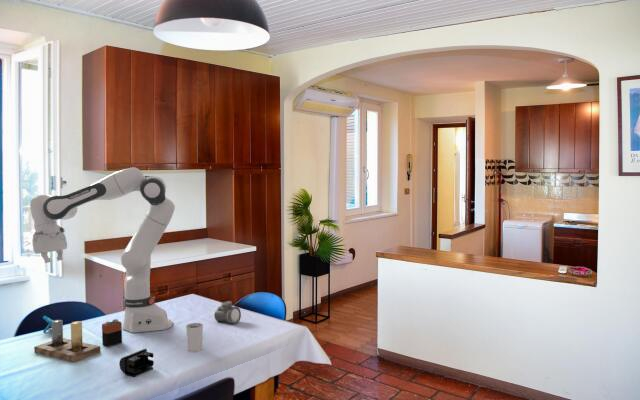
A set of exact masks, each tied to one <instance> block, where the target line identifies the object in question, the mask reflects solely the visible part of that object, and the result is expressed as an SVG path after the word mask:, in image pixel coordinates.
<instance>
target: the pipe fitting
mask: <svg viewBox="0 0 640 400" xmlns="http://www.w3.org/2000/svg"><path fill="white" fill-rule="evenodd" d="M241 318H242V312H241V309H240V308H239V306H233V302H232V301H231V300H227V301H224V302H222V303H221V304H220V306H218V307H217V309H216V310H215V311H214V320H215V321H216V322H228V323H229V324H232V325H236V324H238V323H239V322H240V321H241Z"/></svg>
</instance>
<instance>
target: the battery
mask: <svg viewBox="0 0 640 400" xmlns="http://www.w3.org/2000/svg"><path fill="white" fill-rule="evenodd" d="M122 323H123V322H121V321H119V319H118V318H117V319H116V318H115V319H113V320H112V321H106V322H105V323H102V324H101V336H102V341H101V342H102V346H105V347H107V348H109V347H112V346H116V345H119V344H122V343H123V329H122V327H123V324H122Z"/></svg>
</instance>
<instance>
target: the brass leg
mask: <svg viewBox="0 0 640 400" xmlns="http://www.w3.org/2000/svg"><path fill="white" fill-rule="evenodd" d="M70 338H71V339H70V340H71V346H72V352H78V351H81V350H83V343H84V342H83V322H82V321H80V320H77V321H72V322H71V323H70Z"/></svg>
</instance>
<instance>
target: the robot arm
mask: <svg viewBox="0 0 640 400" xmlns="http://www.w3.org/2000/svg"><path fill="white" fill-rule="evenodd" d="M133 192H140V194H141V197H142V198H143V199H144V200H145V201H147V202H148V203H149V204H150V207H149V209H148V210H147V212H146V214H145V215H144V218H143V219H142V221H141V223H140V224H139V226H138V228H137V229H136V232H135V233H134V234H133V236H132V238H131V239H130V240H129V242H128V244H127V245H126V247H125V249H124V250H123V252H122V254H121V257H120V262H121V265H122V267H123V268H124V269H125V277H124V298H123V308H124V309H123V310H124V319H123V322H122V323H123V324H122V331H123V330H124V331H127V332H130V333H132V334H133V333H144V332H154V331H155V332H156V331H163V330H164V331H165V330H168V329H169V328H171V327H172V325H173V324H174V322H173V320H172V319H169V318H168V314H167V311H166V310H165V309H164V308H162V307H161V306H159V305H158V304H156V301H155V298H156V297H155V296H152V295H151V290H150V289H151V285H150V284H151V282H150V279H151V277H150V276H151V262H152V261H151V260H152V259H151V257H152V253H153V252H154V250H155V248H156V246H157V245H158V243H159V242H160V240H161V238H162V237H163V235H164V232H165V231H166V229H167V228H168V226H169V224H170V222H171V220H172V217H173V215H174V212H175V209H176V208H175V207H176V206H175V203H174V202H173V200H171V199H169V198H168V197H167V196H166V192H167V185H166V183H165V181H164V180H163V179H162V178H160V177H158V176H150V175H144V174H143V172H142V171H141V170H140V169H139V168H137V167H134V166H132V167H129V168H124V169H121V170H119V171H115V172H113V173H111V174H109V175H107V176H106V177H104V178H102V179H100V180H98V181H96V182H94V183H92V184H90V185H88V186H86V187H84V188H81V189H78V190H76V191H73V192H71V193H68V194H66V195H50V194H47V193H42V194H39V195H36V196H34V197H33V198H31V200H30V203H29V204H30V205H29V206H30V207H29V208H30V212H31V213H30V214H31V218H32V220H33V222H34V223H33V224H34V225H33V226H34V227H33V228H34V231H35V232H34V233H33V234H32V240H31V241H32V249H33V252H34V254H37V255H38V254H40V256H41V257H42V258H43V260H44V263H45V264H47V263H51V258H50V257H49V255H48V253H51V252H56V254H57V256H56V260H57V261H63V259H64V258H63V253H64V252H63V251H64V250H67V248H68V241H67V237H66V235H65V232H66V230H65V228H64V227H61V226H60V225H59V224H58V223H57V221H59V220H69V219H72V218H74V217H75V216H76V214H77V212H78V207H80V206H82V205H85V204H87V203H90V202H93V201H100V200H101V201H103V200H105V201H106V200H107V201H112V200H115V199H119V198H122V197H123V196H126V195H129V194H130V193H133Z"/></svg>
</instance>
